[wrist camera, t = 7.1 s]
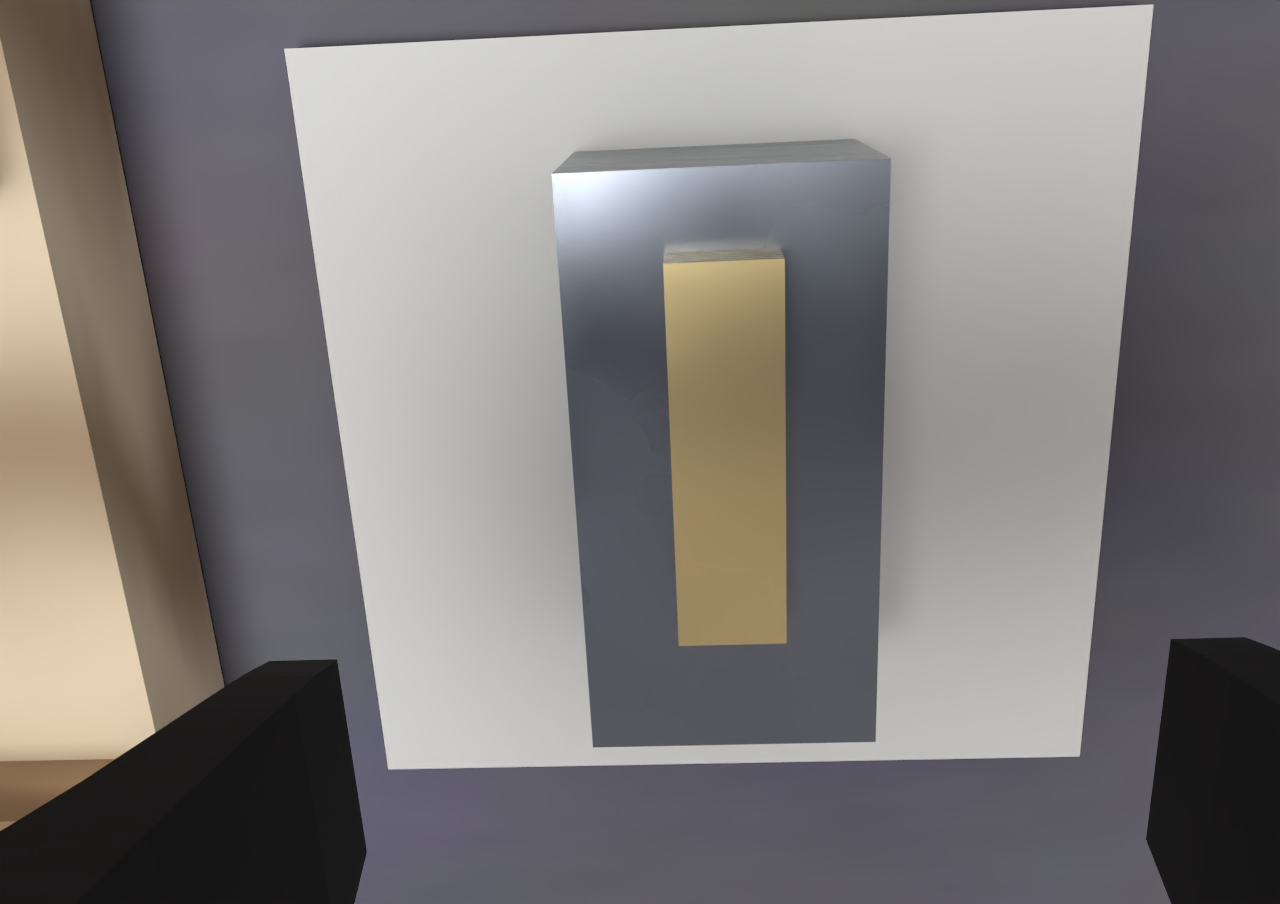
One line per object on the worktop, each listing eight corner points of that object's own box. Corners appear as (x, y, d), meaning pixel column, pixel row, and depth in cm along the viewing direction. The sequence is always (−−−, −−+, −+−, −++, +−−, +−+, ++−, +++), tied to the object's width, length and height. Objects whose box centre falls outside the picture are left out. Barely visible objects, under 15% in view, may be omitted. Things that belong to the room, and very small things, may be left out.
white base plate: (1068, 736, 20) (1079, 756, 19) (396, 749, 20) (388, 769, 20) (1137, 5, 16) (1153, 4, 15) (298, 49, 16) (284, 48, 16)
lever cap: (846, 637, 19) (883, 771, 15) (606, 642, 19) (589, 777, 15) (853, 138, 16) (901, 164, 13) (574, 151, 16) (544, 180, 13)
